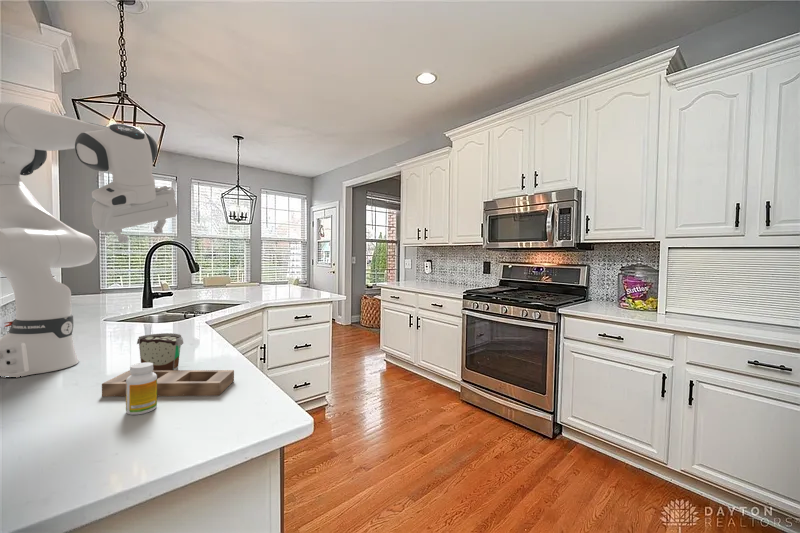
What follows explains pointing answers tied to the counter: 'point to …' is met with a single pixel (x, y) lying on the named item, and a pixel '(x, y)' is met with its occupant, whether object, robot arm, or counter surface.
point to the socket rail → (177, 383)
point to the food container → (161, 350)
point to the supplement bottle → (141, 389)
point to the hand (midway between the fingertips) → (141, 237)
